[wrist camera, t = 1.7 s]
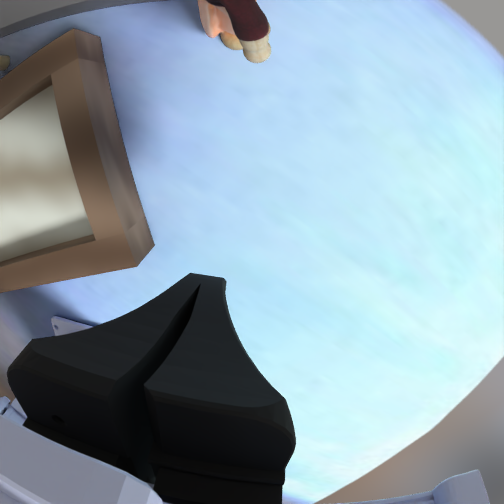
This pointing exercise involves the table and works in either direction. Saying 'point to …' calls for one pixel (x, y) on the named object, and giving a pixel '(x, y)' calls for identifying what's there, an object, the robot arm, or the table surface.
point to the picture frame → (65, 170)
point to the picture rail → (45, 13)
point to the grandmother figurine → (237, 26)
